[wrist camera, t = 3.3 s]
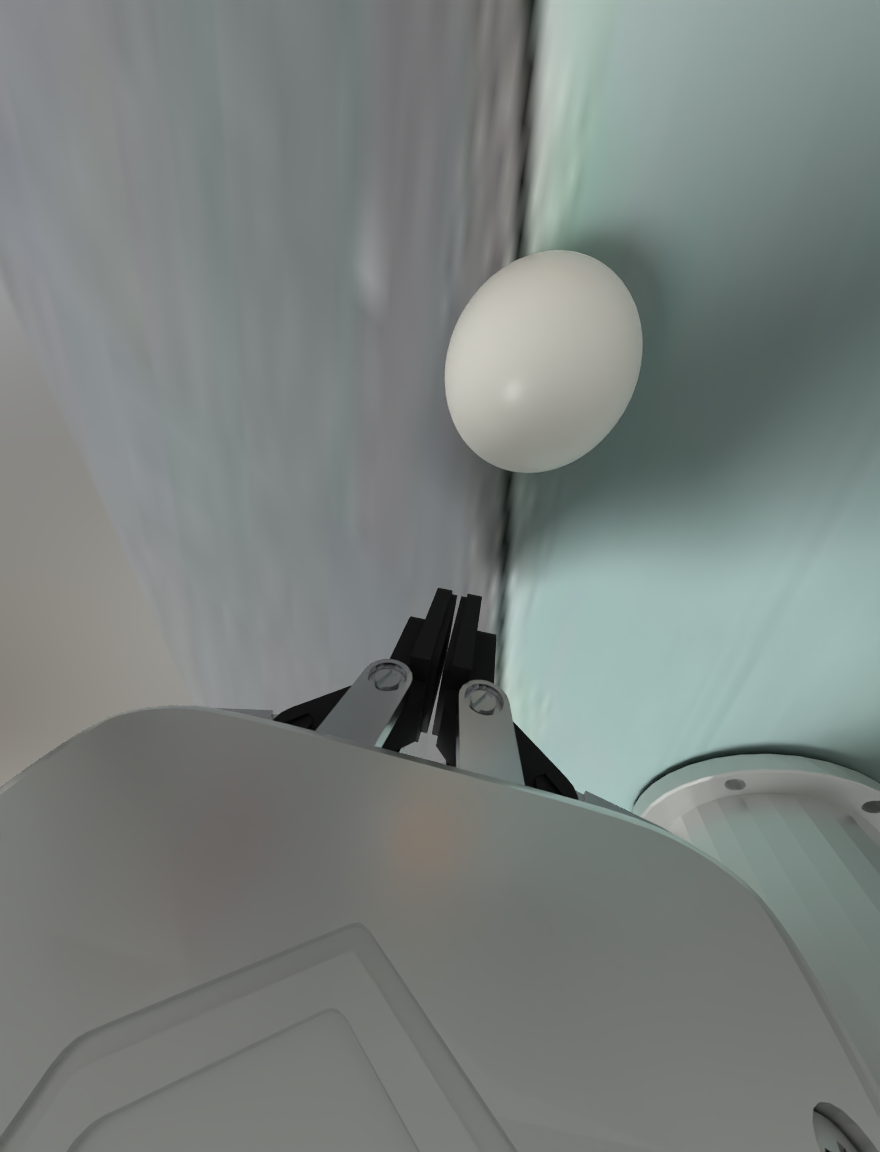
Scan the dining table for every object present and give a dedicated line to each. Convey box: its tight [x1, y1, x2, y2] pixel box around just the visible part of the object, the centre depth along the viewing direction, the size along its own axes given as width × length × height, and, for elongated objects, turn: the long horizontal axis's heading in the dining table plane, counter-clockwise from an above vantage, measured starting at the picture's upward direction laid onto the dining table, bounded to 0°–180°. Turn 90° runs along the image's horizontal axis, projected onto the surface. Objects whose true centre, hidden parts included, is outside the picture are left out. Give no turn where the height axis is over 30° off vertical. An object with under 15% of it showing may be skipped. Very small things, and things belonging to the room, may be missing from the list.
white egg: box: [445, 250, 643, 473], centre depth 10 cm, size 6×6×6 cm
